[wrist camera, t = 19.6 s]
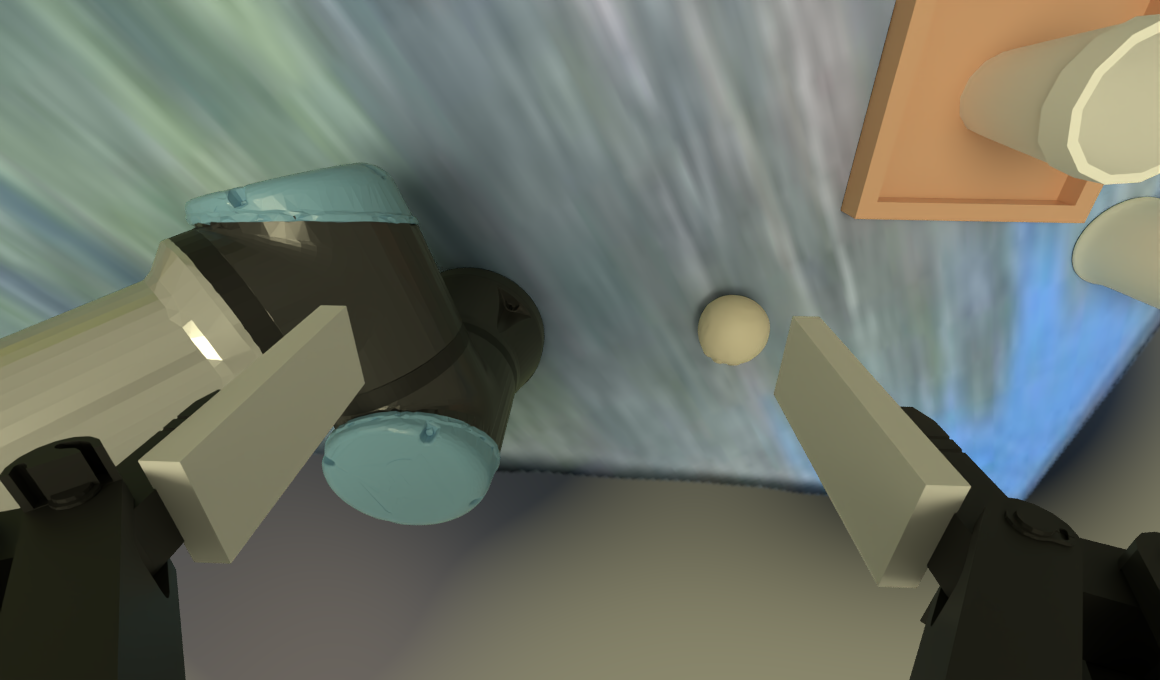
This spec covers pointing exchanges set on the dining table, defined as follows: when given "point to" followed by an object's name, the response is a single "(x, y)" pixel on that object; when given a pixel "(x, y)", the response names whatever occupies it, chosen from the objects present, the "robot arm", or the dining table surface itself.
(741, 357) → the beige ball
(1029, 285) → the dining table surface
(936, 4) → the tray
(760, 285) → the dining table surface
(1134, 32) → the foam cup
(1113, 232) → the mug
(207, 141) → the dining table surface
